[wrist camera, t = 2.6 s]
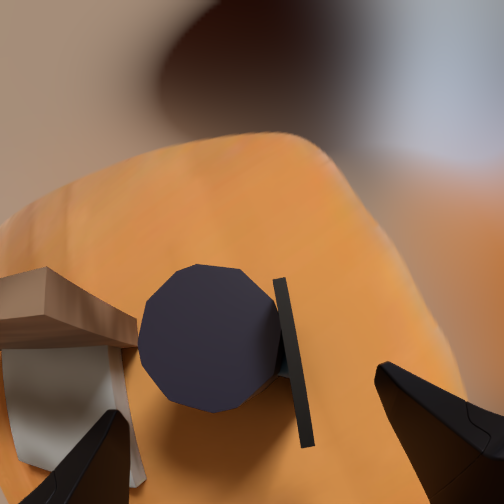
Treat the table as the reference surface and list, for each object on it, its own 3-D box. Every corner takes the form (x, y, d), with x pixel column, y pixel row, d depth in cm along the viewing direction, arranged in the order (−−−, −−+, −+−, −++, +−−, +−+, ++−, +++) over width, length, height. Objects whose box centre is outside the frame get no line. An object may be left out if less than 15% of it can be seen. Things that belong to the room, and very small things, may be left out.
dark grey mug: (321, 318, 18) (359, 265, 8) (305, 403, 16) (327, 451, 6) (212, 299, 19) (141, 233, 10) (193, 379, 17) (99, 386, 8)
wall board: (166, 479, 13) (97, 545, 4) (23, 454, 12) (-56, 460, 3) (136, 318, 18) (46, 266, 9) (7, 331, 17) (-71, 298, 8)
